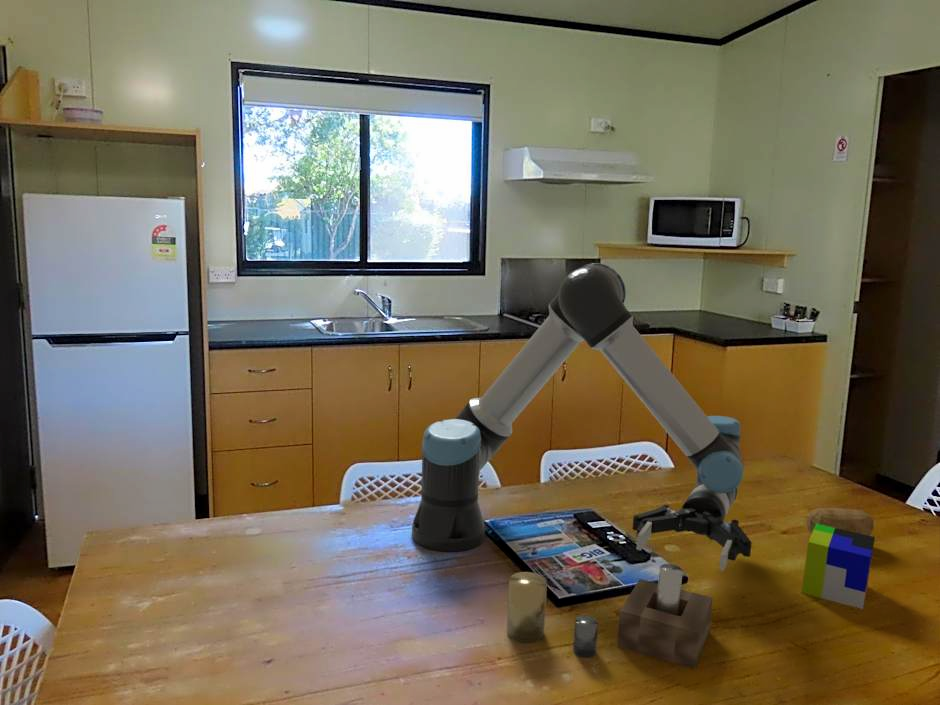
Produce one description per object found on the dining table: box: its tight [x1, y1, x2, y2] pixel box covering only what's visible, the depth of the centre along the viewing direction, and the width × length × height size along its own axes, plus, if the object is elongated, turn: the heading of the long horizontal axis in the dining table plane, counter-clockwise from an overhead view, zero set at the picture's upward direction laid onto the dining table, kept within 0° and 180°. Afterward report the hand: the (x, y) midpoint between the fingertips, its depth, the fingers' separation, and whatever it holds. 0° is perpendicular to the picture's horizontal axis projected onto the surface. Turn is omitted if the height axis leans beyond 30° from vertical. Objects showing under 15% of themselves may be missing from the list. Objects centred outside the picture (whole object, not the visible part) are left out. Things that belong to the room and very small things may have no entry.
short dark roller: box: [572, 615, 599, 659], centre depth 115 cm, size 4×4×5 cm
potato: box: [806, 507, 875, 536], centre depth 156 cm, size 10×14×8 cm
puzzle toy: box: [801, 524, 875, 610], centre depth 137 cm, size 10×10×10 cm
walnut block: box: [616, 578, 714, 670], centre depth 119 cm, size 12×12×6 cm
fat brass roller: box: [506, 571, 548, 644], centre depth 119 cm, size 6×6×9 cm
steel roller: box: [656, 563, 684, 616], centre depth 118 cm, size 4×4×12 cm
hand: (679, 552), depth 123 cm, fingers open, 13 cm apart
